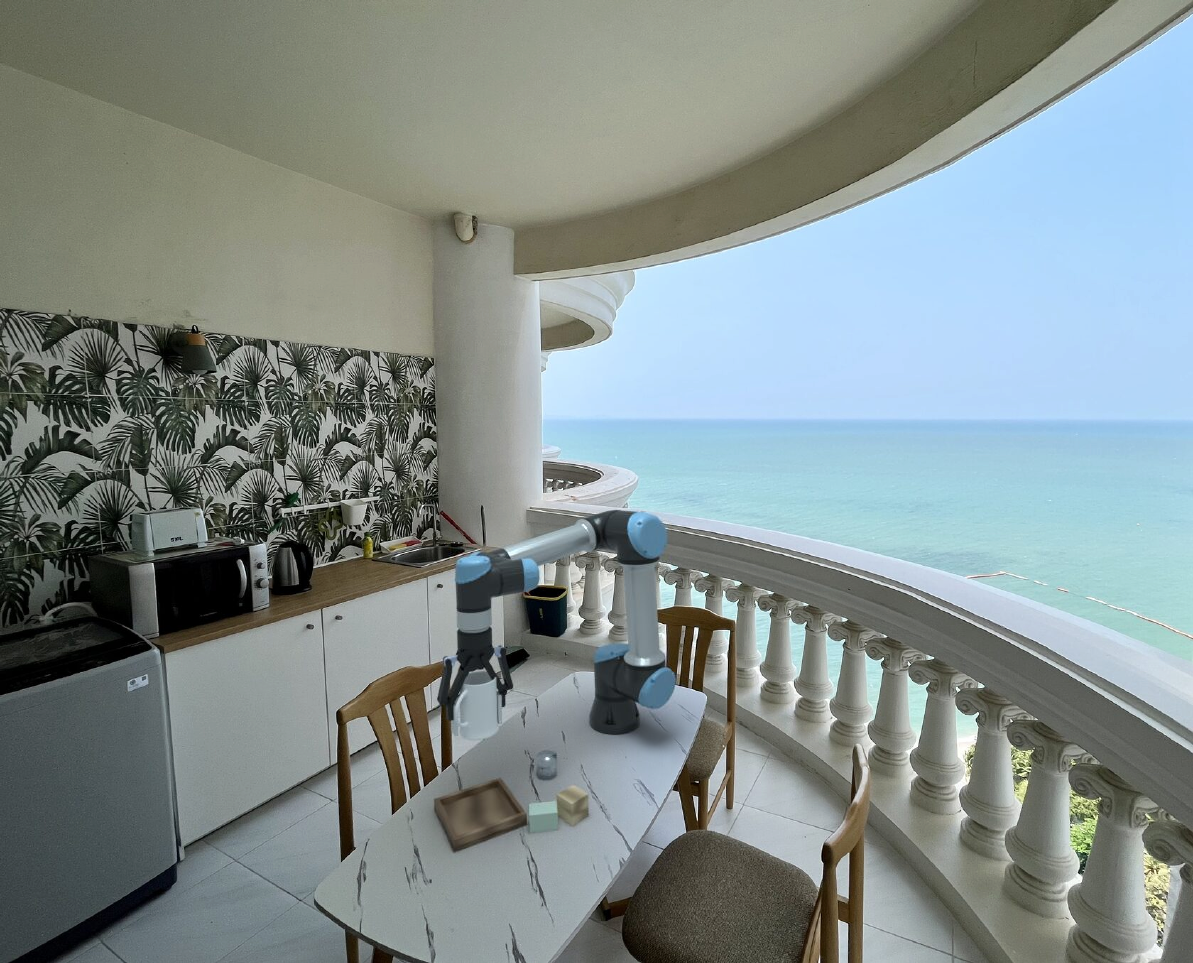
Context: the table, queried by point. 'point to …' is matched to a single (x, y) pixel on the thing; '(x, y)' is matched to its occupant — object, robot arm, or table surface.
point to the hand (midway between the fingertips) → (477, 727)
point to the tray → (479, 813)
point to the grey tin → (546, 765)
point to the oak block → (572, 805)
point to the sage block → (543, 816)
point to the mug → (477, 707)
